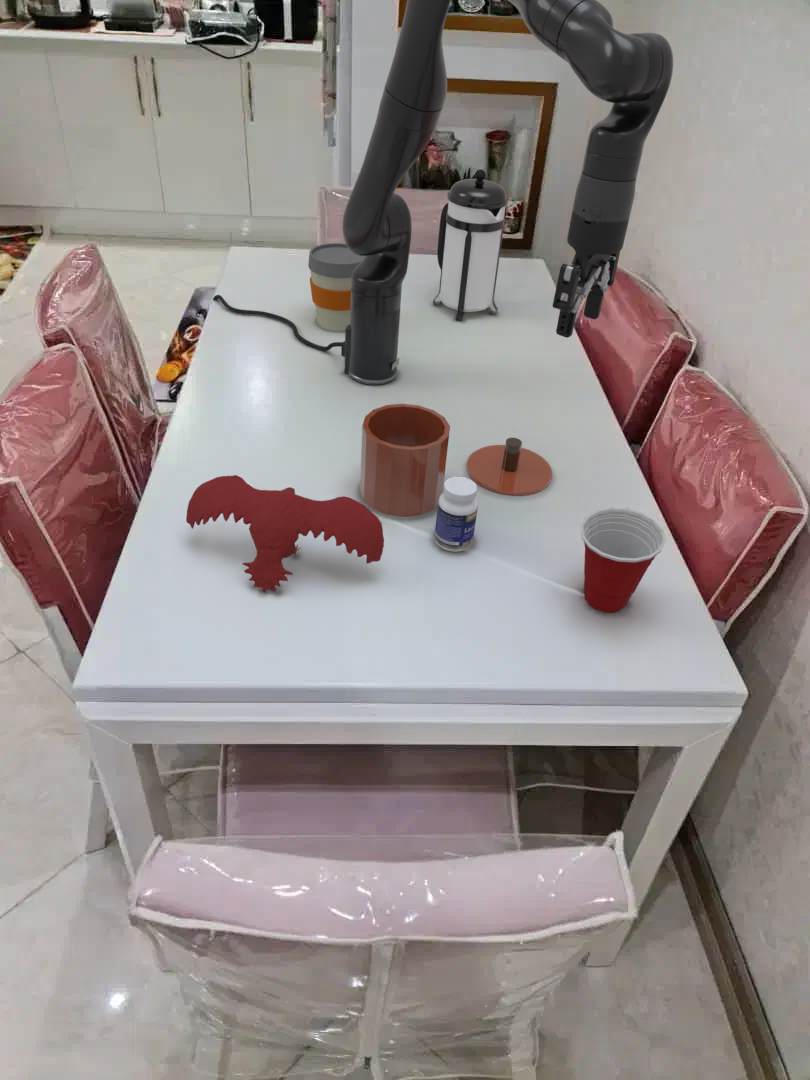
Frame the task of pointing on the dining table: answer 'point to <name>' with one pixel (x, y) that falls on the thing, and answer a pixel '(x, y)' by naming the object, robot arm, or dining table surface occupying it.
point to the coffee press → (471, 244)
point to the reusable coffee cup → (332, 283)
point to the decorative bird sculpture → (285, 523)
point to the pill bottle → (456, 514)
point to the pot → (403, 459)
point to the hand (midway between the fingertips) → (577, 326)
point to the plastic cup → (617, 555)
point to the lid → (509, 469)
